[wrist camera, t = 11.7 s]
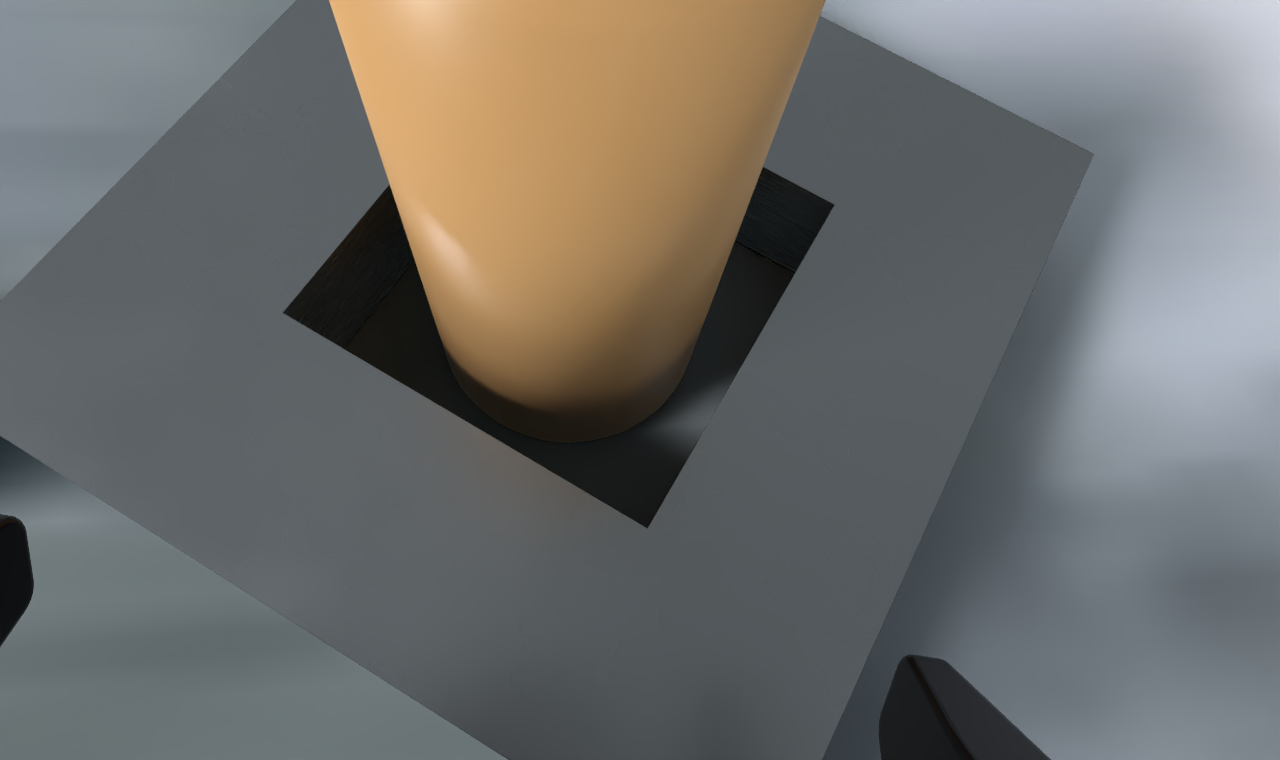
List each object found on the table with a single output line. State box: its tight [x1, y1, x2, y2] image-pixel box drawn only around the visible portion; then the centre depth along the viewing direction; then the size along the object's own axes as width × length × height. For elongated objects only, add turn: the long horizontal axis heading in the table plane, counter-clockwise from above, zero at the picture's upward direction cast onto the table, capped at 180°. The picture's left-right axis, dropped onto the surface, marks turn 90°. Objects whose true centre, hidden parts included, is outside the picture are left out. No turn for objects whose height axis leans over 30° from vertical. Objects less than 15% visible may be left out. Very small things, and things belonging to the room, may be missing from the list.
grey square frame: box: [0, 0, 1094, 760], centre depth 18 cm, size 16×16×3 cm
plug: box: [329, 0, 826, 442], centre depth 12 cm, size 6×6×16 cm
